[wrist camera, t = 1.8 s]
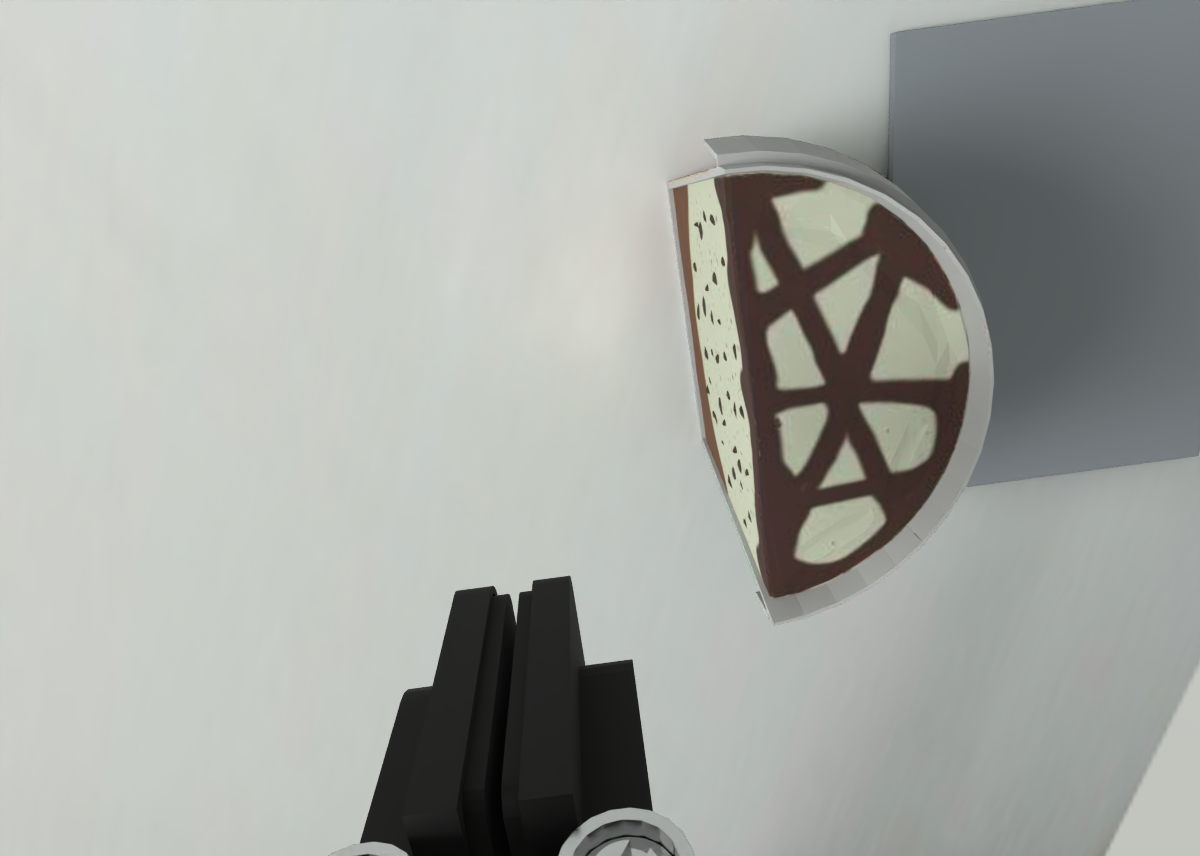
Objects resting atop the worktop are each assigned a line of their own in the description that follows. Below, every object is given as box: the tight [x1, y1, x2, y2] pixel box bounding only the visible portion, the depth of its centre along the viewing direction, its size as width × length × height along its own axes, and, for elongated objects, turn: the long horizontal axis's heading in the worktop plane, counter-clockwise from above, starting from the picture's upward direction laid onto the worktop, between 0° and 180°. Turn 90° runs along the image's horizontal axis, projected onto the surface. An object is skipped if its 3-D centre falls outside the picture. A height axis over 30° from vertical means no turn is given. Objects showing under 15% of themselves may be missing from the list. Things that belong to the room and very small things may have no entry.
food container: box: [667, 135, 994, 626], centre depth 22 cm, size 12×6×10 cm, turn 10°
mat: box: [888, 0, 1200, 487], centre depth 26 cm, size 16×12×1 cm
